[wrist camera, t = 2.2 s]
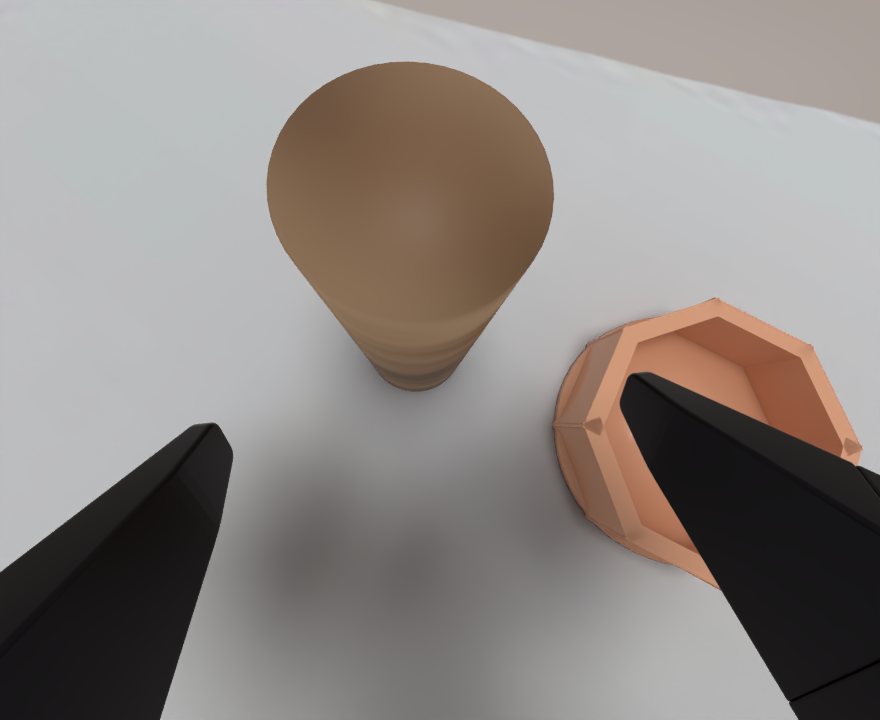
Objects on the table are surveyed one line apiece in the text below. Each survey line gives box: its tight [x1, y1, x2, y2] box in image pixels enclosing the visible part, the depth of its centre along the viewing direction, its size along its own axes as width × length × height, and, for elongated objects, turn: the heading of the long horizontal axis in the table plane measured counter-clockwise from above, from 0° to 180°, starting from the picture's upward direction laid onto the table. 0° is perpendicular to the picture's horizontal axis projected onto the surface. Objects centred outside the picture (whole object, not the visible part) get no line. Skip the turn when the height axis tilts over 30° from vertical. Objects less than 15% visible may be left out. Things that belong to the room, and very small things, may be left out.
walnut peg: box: [267, 62, 554, 391], centre depth 12 cm, size 5×5×13 cm
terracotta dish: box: [552, 298, 863, 590], centre depth 17 cm, size 12×12×4 cm
